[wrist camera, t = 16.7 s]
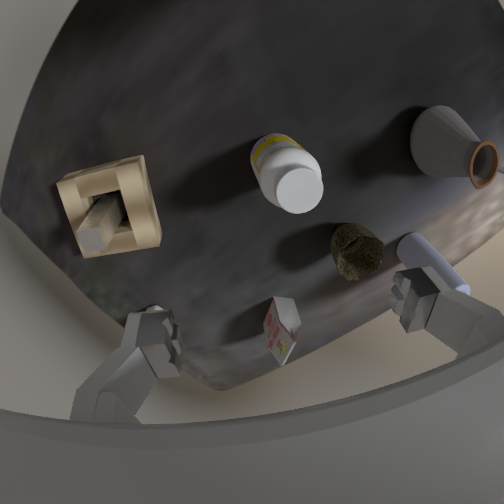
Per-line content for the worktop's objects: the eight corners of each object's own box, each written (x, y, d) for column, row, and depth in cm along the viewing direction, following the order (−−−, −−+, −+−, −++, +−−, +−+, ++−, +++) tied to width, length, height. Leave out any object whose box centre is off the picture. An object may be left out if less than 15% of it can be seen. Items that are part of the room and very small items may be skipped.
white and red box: (293, 298, 53) (307, 341, 45) (281, 324, 56) (292, 367, 48) (273, 296, 52) (284, 340, 44) (262, 323, 56) (271, 366, 47)
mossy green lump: (321, 255, 48) (338, 287, 42) (317, 215, 44) (336, 244, 38) (363, 245, 48) (384, 273, 42) (362, 205, 44) (387, 231, 38)
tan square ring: (66, 174, 36) (56, 183, 33) (143, 154, 36) (137, 162, 33) (91, 245, 42) (84, 258, 39) (162, 233, 43) (159, 246, 40)
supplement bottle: (299, 177, 41) (331, 220, 30) (251, 182, 40) (267, 227, 30) (298, 130, 37) (334, 156, 26) (247, 134, 37) (263, 161, 26)
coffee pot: (393, 163, 41) (455, 206, 28) (409, 92, 35) (482, 113, 22) (476, 185, 44) (530, 224, 32) (492, 130, 38) (552, 159, 26)
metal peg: (101, 196, 38) (76, 231, 30) (120, 192, 39) (97, 226, 30) (107, 215, 40) (84, 253, 32) (125, 211, 40) (106, 249, 32)
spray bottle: (390, 257, 51) (455, 348, 32) (404, 228, 48) (481, 314, 29) (413, 261, 52) (477, 345, 34) (427, 234, 49) (500, 314, 31)
